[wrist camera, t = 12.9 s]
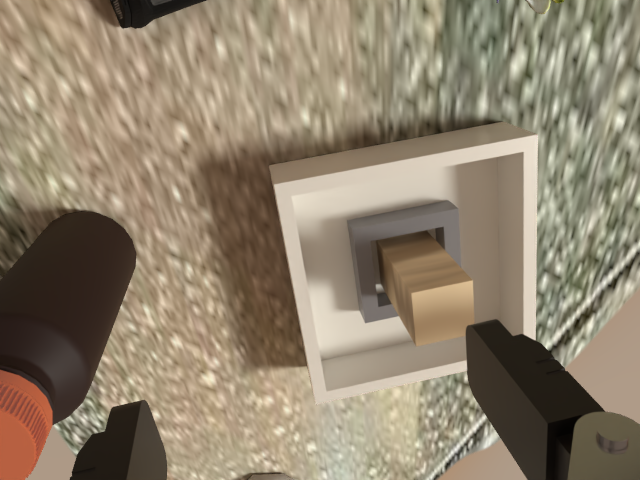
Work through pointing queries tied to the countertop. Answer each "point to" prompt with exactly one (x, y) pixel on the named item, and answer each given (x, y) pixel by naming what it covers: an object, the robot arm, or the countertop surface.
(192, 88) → the countertop surface
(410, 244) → the plug
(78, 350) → the bottle
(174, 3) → the electric trimmer
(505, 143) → the box
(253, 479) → the flask
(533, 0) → the passion flower
